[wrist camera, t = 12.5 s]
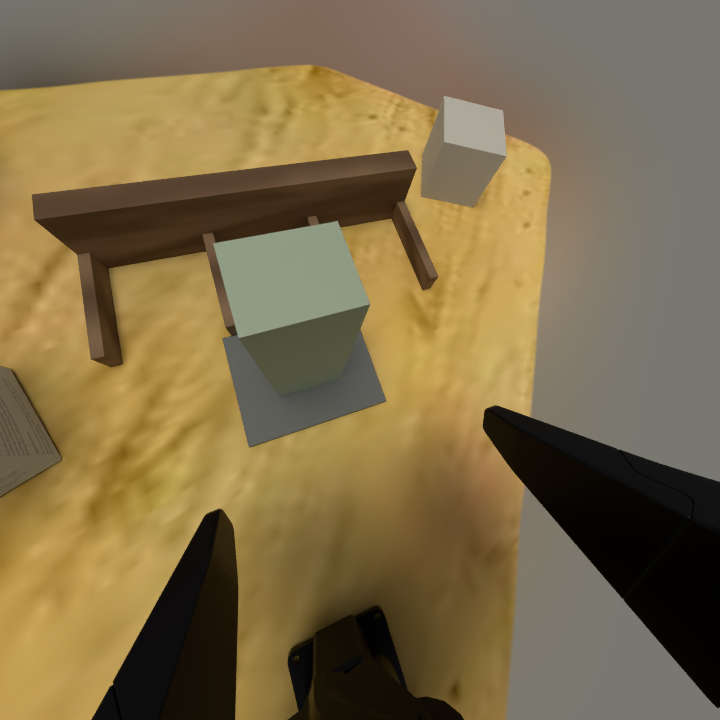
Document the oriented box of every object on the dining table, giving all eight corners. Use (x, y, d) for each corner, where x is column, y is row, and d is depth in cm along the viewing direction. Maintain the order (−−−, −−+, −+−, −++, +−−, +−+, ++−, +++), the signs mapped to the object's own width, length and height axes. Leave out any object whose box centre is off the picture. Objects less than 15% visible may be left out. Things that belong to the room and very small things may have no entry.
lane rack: (429, 288, 28) (456, 251, 23) (110, 366, 22) (45, 341, 16) (391, 201, 30) (408, 150, 25) (93, 249, 24) (31, 194, 19)
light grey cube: (420, 197, 31) (443, 141, 25) (421, 156, 33) (443, 95, 27) (472, 207, 32) (507, 155, 26) (471, 167, 34) (503, 110, 28)
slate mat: (385, 401, 24) (386, 400, 24) (250, 447, 21) (249, 447, 21) (351, 308, 26) (351, 306, 26) (223, 340, 23) (222, 338, 23)
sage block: (340, 378, 24) (369, 304, 11) (279, 397, 22) (238, 338, 10) (325, 334, 24) (337, 220, 12) (265, 350, 23) (213, 243, 11)
